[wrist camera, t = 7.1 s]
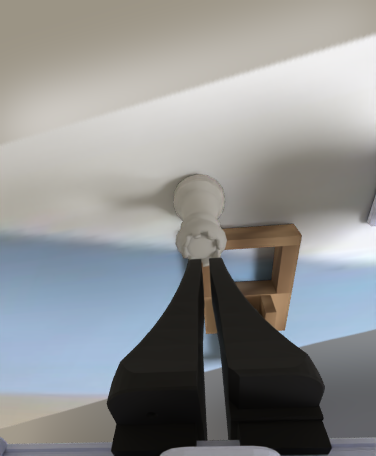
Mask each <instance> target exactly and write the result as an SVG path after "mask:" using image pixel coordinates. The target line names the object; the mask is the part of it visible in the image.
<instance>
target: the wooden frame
mask: <svg viewBox="0 0 376 456" xmlns="http://www.w3.org/2000/svg"><path fill="white" fill-rule="evenodd" d="M222 230H223V231H224V232H225V235H226V239H227V242H226V246H225V249H224V250H229V249H245V248H260V247H275V251H274V260H273V268H272V277H271V280H262V281H244V282H235V284H236V285H237V287H238V288H239V289H240V291H241V292H242V293H243V295H244V296H245V297H246V299H247V300H248V301H249V302H250V304H251V305H252V306H253V307H254V308H255V309H256V310H257V311H258V312H259V314H260V315H261V316H262V317H263V318H264V319H265V320H266V321H268V322H269V323H270V324H271V325H272V326H273V327H274V328H275V329H276V330H277V331H282V330H285V327H286V321H287V316H288V310H289V304H290V299H291V293H292V288H293V282H294V276H295V271H296V265H297V260H298V254H299V248H300V243H301V237H302V235H301V234H300V232H299V231H298V229H297V228H296V226H295V225H294V224H285V225H270V226H256V227H241V228H227V229H222ZM202 273H203V285H204V301H205V308H204V315H205V327H206V334H213V333H217V328H216V323H215V317H214V312H213V306H212V298H211V285H210V269H209V266H205V267H203V262H202Z"/></svg>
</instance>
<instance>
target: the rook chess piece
mask: <svg viewBox="0 0 376 456" xmlns="http://www.w3.org/2000/svg"><path fill="white" fill-rule="evenodd" d="M224 198H225V196H224V192H223V188H222V187H221V185H220V184H219V183H218V181H217V180H215V179H213V178H211V177H210V176H208V175H199V174H196V175H193V176H189V177H186V178H185V179H184V180H183V181H181V182H180V183H179V184H178V186H177V188H176V189H175V191H174V200H173V201H174V208H175V211H176V214H177V216H178V217H179V218H180V219H181V220H182V221H183V222H182V224H181V229H180V231H179V233H178V234H177V237H176V245H177V248H178V251H179V252H180V253H181V254H182V256H183V258H188V261H189V260H190V259H201V261H202V262H203V267H205V266H209V258H220V257H221V253H222V252H223V250H224V249H225V246H226V242H227V239H226V235H225V232H224V231H223V230H222V228H221V226H220V223H219V221H218V220H217V219H218V218H219V217H220V215H221V214H222V212H223V209H224V204H225V199H224Z"/></svg>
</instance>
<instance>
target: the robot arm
mask: <svg viewBox="0 0 376 456" xmlns="http://www.w3.org/2000/svg"><path fill="white" fill-rule="evenodd" d="M367 223H368V224H369V225H371V226H376V196H375V199H374V202H373V205H372V208H371V211H370V214H369V217H368V220H367ZM209 269H210V285H211V298H212V306H213V312H214V317H215V323H216V328H217V334H218V339H219V345H220V353H221V363H222V373H223V385H224V395H225V406H226V416H227V428H228V440H212V441H207V424H206V405H205V384H204V363H203V331H204V308H205V301H204V285H203V273H202V261H201V259H190V260H189V261H188V264H187V268H186V271H185V274H184V276H183V278H182V281H181V283H180V285H179V287H178V289H177V291H176V293H175V295H174V297H173V299H172V300H171V302H170V304H169V305H168V307H167V309H166V310H165V312H164V313H163V315H162V316H161V317H160V319H159V320H158V321H157V323H156V324H155V325H154V327H153V328H152V329H151V330H150V332H149V333H148V334H147V335H146V336H145V337H144V338H143V339H142V341H141V342H140V343H139V344H138V345H137V346H136V347H135V348H134V349H133V350H132V351H131V352H130V353H129V354H128V355H127V356H126V357H125V358H124V359H123V360H122V361H121V362H120V364H119V366H118V368H117V371H116V373H115V376H114V378H113V381H112V384H111V388H110V392H109V396H108V401H107V406H108V409H109V411H110V412H111V414H112V416H113V418H114V420H115V422H116V429H115V434H114V438H113V442H102V443H101V442H99V443H44V444H43V443H41V444H7V442H6V441H5V440H4V439H3V438H1V437H0V456H376V438H331V439H330V438H328V435H327V432H326V430H325V427H324V424H323V422H322V420H323V414H322V412H321V409H320V406H319V404H320V401H321V399H322V396H323V393H324V389H325V386H324V384H323V381H322V378H321V376H320V374H319V372H318V370H317V369H316V367H315V365H314V364H313V362H312V360H311V359H310V357H309V356H308V354H306V353H305V352H304V351H302V350H301V349H300V348H298V347H297V346H296V345H294V344H293V343H292V342H290V341H289V340H288V339H287V338H285V337H284V336H283V335H282V334H281V333H279V332H278V331H277V330H276V329H275V328H274V327H273V326H272V325H271V324H270V323H269V322H268V321H266V320H265V319H264V318H263V317H262V316H261V315H260V314H259V312H258V311H257V310H256V309H255V308H254V307H253V306H252V305H251V304H250V302H249V301H248V300H247V299H246V297H245V296H244V295H243V293H242V292H241V291H240V289H239V288H238V287H237V285H236V284H235V282H234V281H233V279H232V277H231V276H230V274H229V272H228V270H227V269H226V267H225V264H224V262H223V259H222V258H209Z"/></svg>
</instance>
